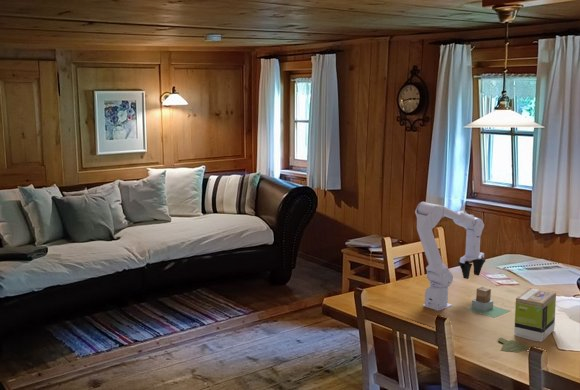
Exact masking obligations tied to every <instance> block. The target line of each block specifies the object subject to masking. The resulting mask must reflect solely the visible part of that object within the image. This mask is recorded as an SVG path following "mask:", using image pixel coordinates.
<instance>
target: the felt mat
mask: <svg viewBox="0 0 580 390" xmlns="http://www.w3.org/2000/svg"><path fill="white" fill-rule="evenodd" d="M466 310H468V311H471V312H474V313H477V314H481V315H484V316H488V317H490V318H494V319H495V318H497V317H499V316H502V315H504V314H507V313H509V312H511V310H509V309H506V308H502V307H498V306H497V305H493V308H492V309H489V310H487V311H482V310H479V309H475V308H472V306H470V307H467V308H466Z"/></svg>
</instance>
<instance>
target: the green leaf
mask: <svg viewBox="0 0 580 390" xmlns="http://www.w3.org/2000/svg"><path fill="white" fill-rule="evenodd" d="M497 341H499V342H500V343H502V346H501V348H500V351H502V352H504V351H505V352H513V353H516V354H517V353H521V352H524V351H525V352H527V350H529V348H530V347H531V346H530V345H526V344H524V343H521V342H518V341H516V340H513V339H510V340H507V339H505V338H503V337H498V339H497Z"/></svg>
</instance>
